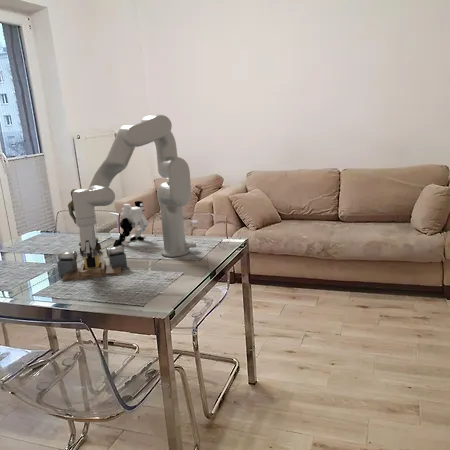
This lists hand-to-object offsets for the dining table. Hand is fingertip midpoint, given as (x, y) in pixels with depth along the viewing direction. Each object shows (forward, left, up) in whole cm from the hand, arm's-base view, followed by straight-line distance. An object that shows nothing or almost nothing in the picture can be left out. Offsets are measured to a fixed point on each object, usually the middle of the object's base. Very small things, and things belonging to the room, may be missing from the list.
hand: (92, 264), depth 188 cm
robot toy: (-15, -40, -4) cm, 43 cm away
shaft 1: (+10, -2, -4) cm, 10 cm away
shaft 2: (-9, -2, -4) cm, 10 cm away
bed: (0, 0, -4) cm, 4 cm away
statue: (+4, -30, -4) cm, 31 cm away
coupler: (0, 0, -1) cm, 1 cm away
